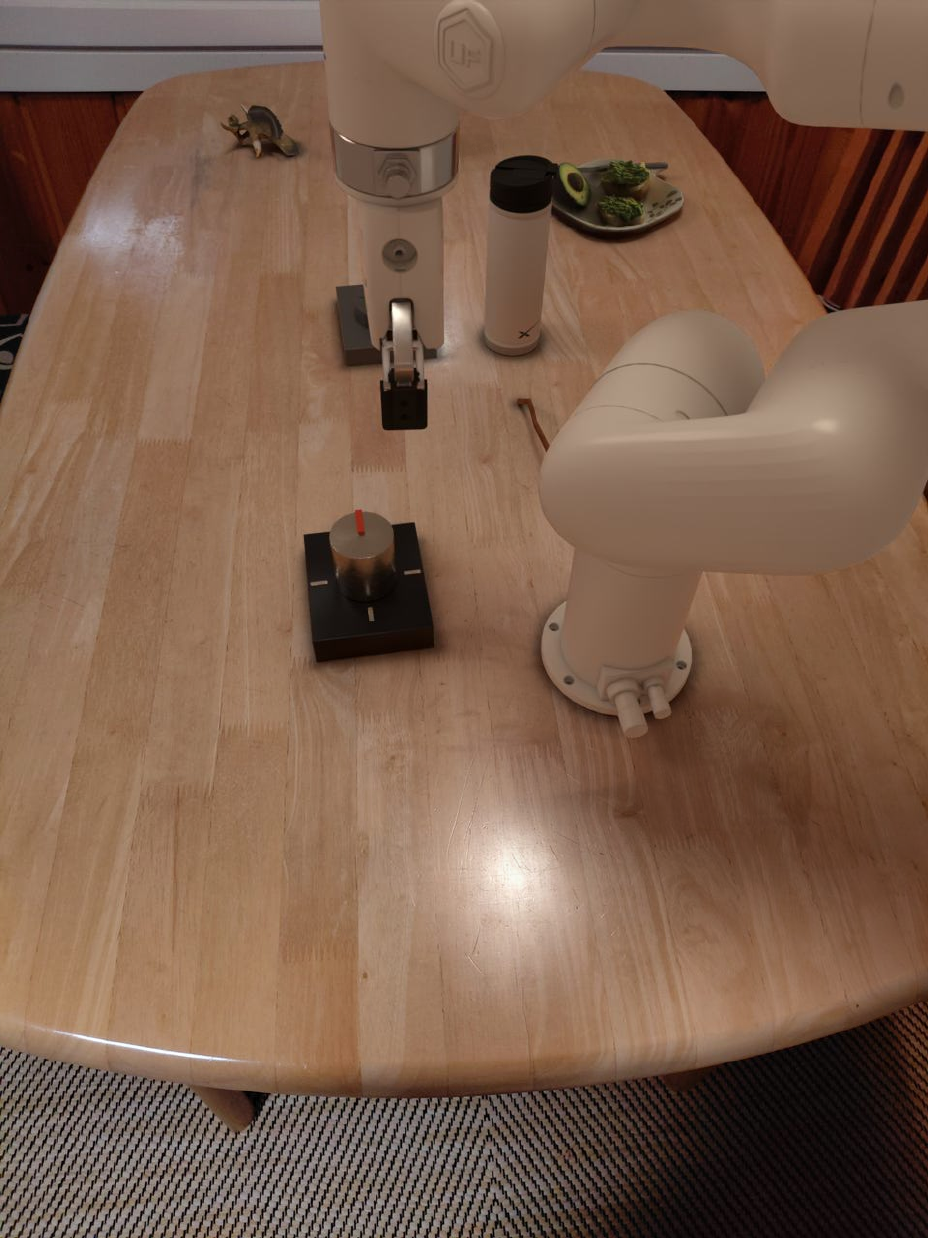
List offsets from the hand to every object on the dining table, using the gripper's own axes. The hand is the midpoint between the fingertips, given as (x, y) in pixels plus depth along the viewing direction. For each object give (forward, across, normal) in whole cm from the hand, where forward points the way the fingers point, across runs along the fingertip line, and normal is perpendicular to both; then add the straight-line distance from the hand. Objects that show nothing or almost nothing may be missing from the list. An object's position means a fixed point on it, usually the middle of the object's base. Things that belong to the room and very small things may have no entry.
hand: (402, 382), depth 69 cm
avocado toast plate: (+21, +61, -28) cm, 70 cm away
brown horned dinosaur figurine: (+22, +78, +17) cm, 83 cm away
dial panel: (+20, -4, +4) cm, 21 cm away
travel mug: (+21, +32, -13) cm, 41 cm away
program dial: (+17, -4, +4) cm, 18 cm away
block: (+21, +35, +1) cm, 41 cm away
